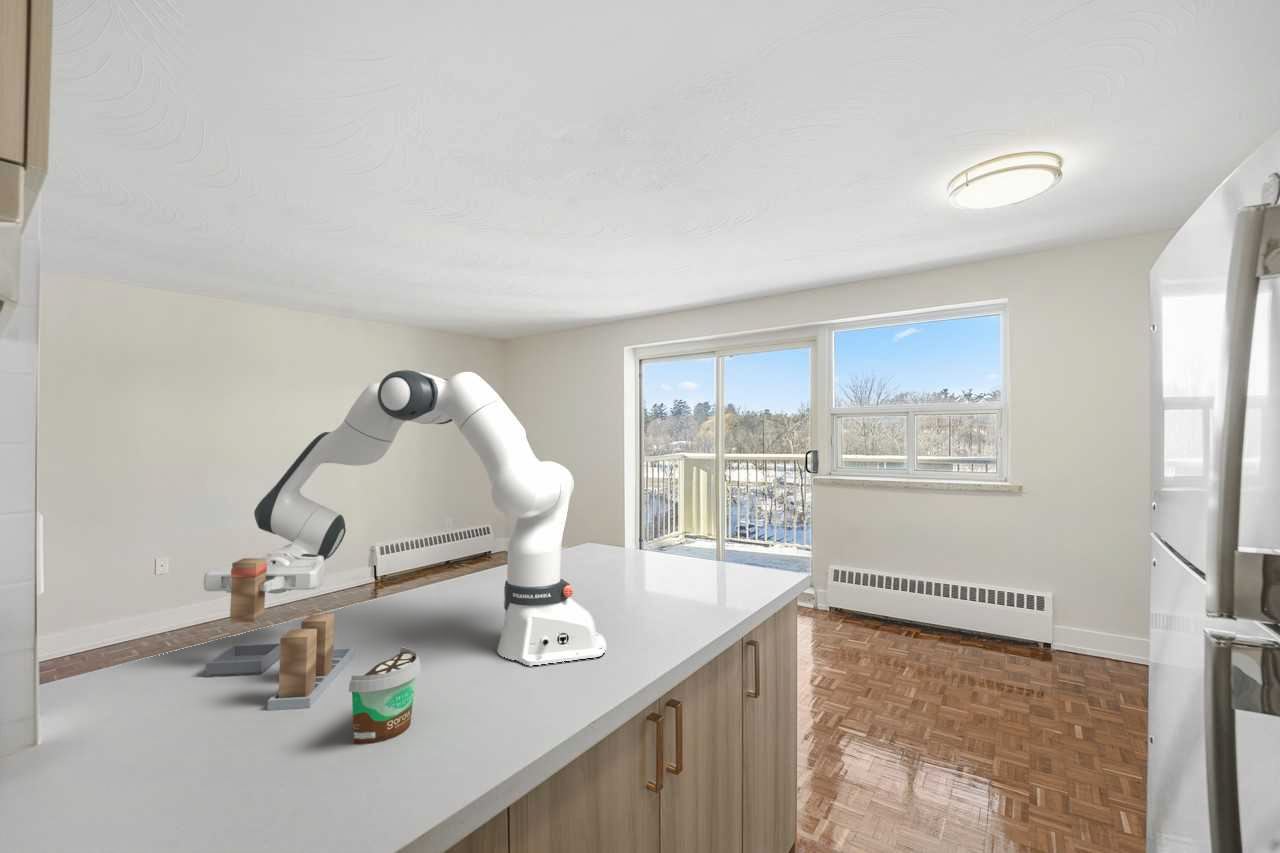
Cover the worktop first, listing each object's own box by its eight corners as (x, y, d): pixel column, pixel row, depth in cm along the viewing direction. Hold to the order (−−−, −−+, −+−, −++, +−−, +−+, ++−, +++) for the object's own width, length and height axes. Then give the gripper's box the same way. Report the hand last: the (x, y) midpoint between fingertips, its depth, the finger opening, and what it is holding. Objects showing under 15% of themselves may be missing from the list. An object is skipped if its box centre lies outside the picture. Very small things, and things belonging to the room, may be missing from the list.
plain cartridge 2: (332, 674, 103) (334, 614, 103) (323, 683, 99) (325, 621, 99) (308, 675, 102) (310, 614, 103) (299, 685, 98) (301, 621, 99)
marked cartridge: (264, 615, 109) (267, 558, 109) (253, 622, 105) (256, 562, 105) (240, 615, 108) (243, 558, 108) (228, 622, 104) (231, 563, 104)
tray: (283, 655, 111) (283, 642, 111) (261, 674, 102) (261, 660, 102) (232, 657, 110) (233, 644, 110) (205, 677, 101) (206, 663, 101)
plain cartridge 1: (314, 694, 95) (317, 628, 95) (305, 705, 91) (307, 636, 91) (289, 695, 94) (291, 629, 95) (278, 706, 90) (280, 637, 91)
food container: (385, 754, 77) (387, 681, 78) (346, 749, 79) (348, 676, 79) (435, 712, 90) (437, 649, 90) (400, 708, 91) (402, 645, 91)
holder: (354, 655, 112) (354, 647, 112) (309, 707, 90) (310, 698, 90) (321, 656, 111) (321, 648, 111) (267, 710, 89) (267, 700, 89)
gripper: (226, 556, 117) (184, 572, 104) (331, 555, 121) (305, 570, 107) (224, 586, 117) (183, 606, 104) (330, 584, 121) (303, 603, 107)
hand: (246, 588), depth 105 cm, fingers closed on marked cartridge, 4 cm apart
